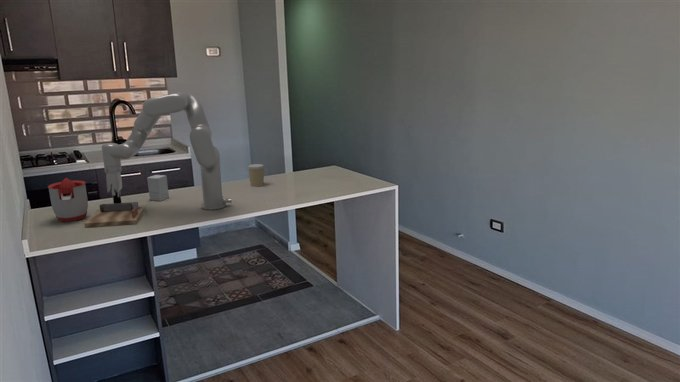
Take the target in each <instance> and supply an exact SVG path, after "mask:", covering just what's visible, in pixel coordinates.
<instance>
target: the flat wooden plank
mask: <svg viewBox="0 0 680 382" xmlns="http://www.w3.org/2000/svg"><path fill="white" fill-rule="evenodd" d="M145 212H147V207H146V206H139V209H137V207H134V209H133V210H120V211H104V212H101V211H100V208H99V209H98V210H96V211H95V212H94V213H93V214H92V215H91V216H89V218H88V219H87V220H86V221H85V222H84V223H83V224H84V228H86V229H87V228H97V227H98V228H99V227H100V228H101V227H113V226H114V227H115V226H116V227H117V226H128V225H137V224H138V222H140V220H141V218H142V217H143V216H144V214H145Z"/></svg>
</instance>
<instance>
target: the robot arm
mask: <svg viewBox="0 0 680 382" xmlns="http://www.w3.org/2000/svg"><path fill="white" fill-rule="evenodd" d="M182 111H184V112H185V114H186V119H187V121H188V124H189V127H190V129H191V130H190V132H189V142H190V144H191V147H192V150H193V153H194V157H195V158H196V159H195V160H196V161H197V163H198V165H199V166H200V176H201V177H200V178H201V191H202V200H203V203H201V204H200V209H202V210H205V211H207V210H208V211H210V210H212V211H214V210H219V209H223V208H225V207H226V206H227V203H229V204H230V203H232V201H233V200H232V198H230V197H228V198H225V197H224V196H223V189H222V176H221V175H222V174H221V157H220V156H221V155H220V152H219V149H218V148H217V147H216V146H214V145H213V141H212V137H213V134H212V130H211V128H210V125H209V122H208V119H207V115H206V114H205V110H204V108H203V106H202V104H201V102H200V100H199V99H198V98H197V97H195V96H194V95H193V94H191V93H188V92H183V91H179V92H174V93H171V94H167V95H163V96H157V97H154V96H153V97H149V98H148V99H145V100H144V102H143V103H142V109H141V111H140V112H139V114H138V115H137V118H135V120H134V121H133V129H132V131H131V133H130V135H129V136H128V137H127V139H126V141H125V142H123V143H121V144H118V143H117V142H116V143H115V142H108V143H103V144H102V145H101V152H102V160H103V168H104V173H105V175H106V178H105V179H106V180H105V181H106V190H107V191H106V192H107V193H108V194H110V193H111V196H112V199H113V202H112V203H122V197H121V190H122V189H123V180H122V175H121V174H122V173H121V172H122V171H123V170H122V169H123V168H122V162H121V161H122V160H129V159H131V158H133V157H134V156H136V155H137V154H138V153H139V152H140V150H141V149H142V148H143V146H144V144H145V142H146V141H147V139H148V137H149V136H150V134H151V132H152V130H153V129H154V128H155V125H156V124H157V123H158V121H159V120H160V119H161V117H162V116H166V115H171V114H175V113H179V112H182Z"/></svg>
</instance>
